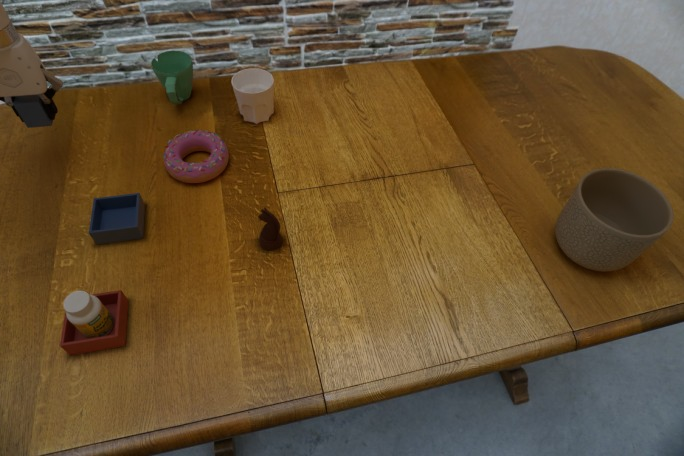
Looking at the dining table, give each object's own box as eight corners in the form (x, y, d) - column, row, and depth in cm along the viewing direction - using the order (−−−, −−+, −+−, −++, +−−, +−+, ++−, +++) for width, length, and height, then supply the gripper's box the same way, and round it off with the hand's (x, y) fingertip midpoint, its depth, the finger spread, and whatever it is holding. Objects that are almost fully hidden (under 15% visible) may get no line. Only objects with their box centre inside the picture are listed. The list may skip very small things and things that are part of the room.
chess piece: (268, 229, 96) (264, 198, 88) (288, 240, 95) (285, 209, 87) (254, 244, 94) (249, 213, 86) (274, 255, 93) (271, 225, 85)
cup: (247, 97, 122) (242, 64, 114) (282, 106, 121) (280, 73, 113) (230, 120, 116) (224, 87, 108) (267, 130, 115) (263, 97, 107)
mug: (163, 84, 124) (152, 51, 116) (200, 82, 125) (192, 49, 117) (159, 120, 115) (147, 87, 107) (199, 118, 116) (190, 84, 108)
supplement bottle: (94, 309, 83) (72, 282, 76) (121, 317, 83) (101, 290, 75) (76, 336, 80) (51, 310, 73) (103, 344, 80) (81, 320, 72)
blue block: (27, 128, 94) (12, 104, 89) (31, 113, 97) (17, 89, 92) (51, 126, 95) (38, 102, 90) (55, 111, 98) (42, 87, 93)
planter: (551, 275, 93) (587, 230, 80) (541, 211, 103) (571, 162, 90) (637, 287, 92) (686, 243, 80) (618, 221, 102) (659, 173, 90)
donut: (238, 175, 105) (235, 159, 101) (176, 195, 101) (170, 179, 97) (218, 136, 113) (215, 120, 109) (160, 153, 108) (154, 137, 104)
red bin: (70, 355, 79) (59, 346, 75) (76, 308, 84) (67, 298, 81) (125, 345, 80) (117, 336, 77) (128, 300, 85) (121, 289, 82)
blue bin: (96, 244, 92) (88, 233, 89) (100, 210, 97) (93, 198, 94) (143, 238, 94) (137, 226, 90) (145, 204, 99) (139, 192, 96)
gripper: (-70, 48, 77) (-10, 132, 92) (40, 42, 80) (81, 124, 95) (-56, 25, 82) (-1, 108, 96) (47, 20, 84) (85, 102, 99)
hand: (39, 116), depth 95 cm, fingers closed on blue block, 4 cm apart
